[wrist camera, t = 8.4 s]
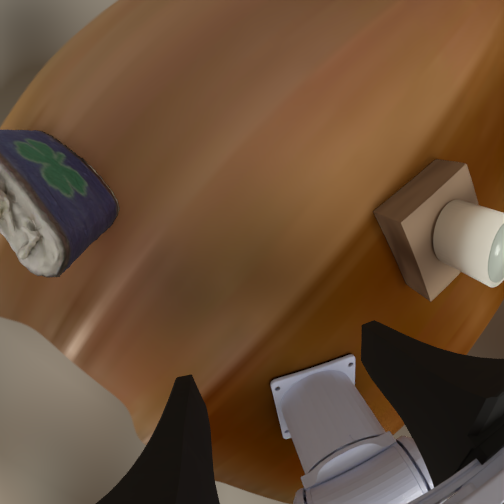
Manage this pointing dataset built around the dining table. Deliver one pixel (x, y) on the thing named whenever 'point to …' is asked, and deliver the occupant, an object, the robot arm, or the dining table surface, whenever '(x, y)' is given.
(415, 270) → the block
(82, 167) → the flask
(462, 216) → the cup
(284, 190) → the dining table surface
